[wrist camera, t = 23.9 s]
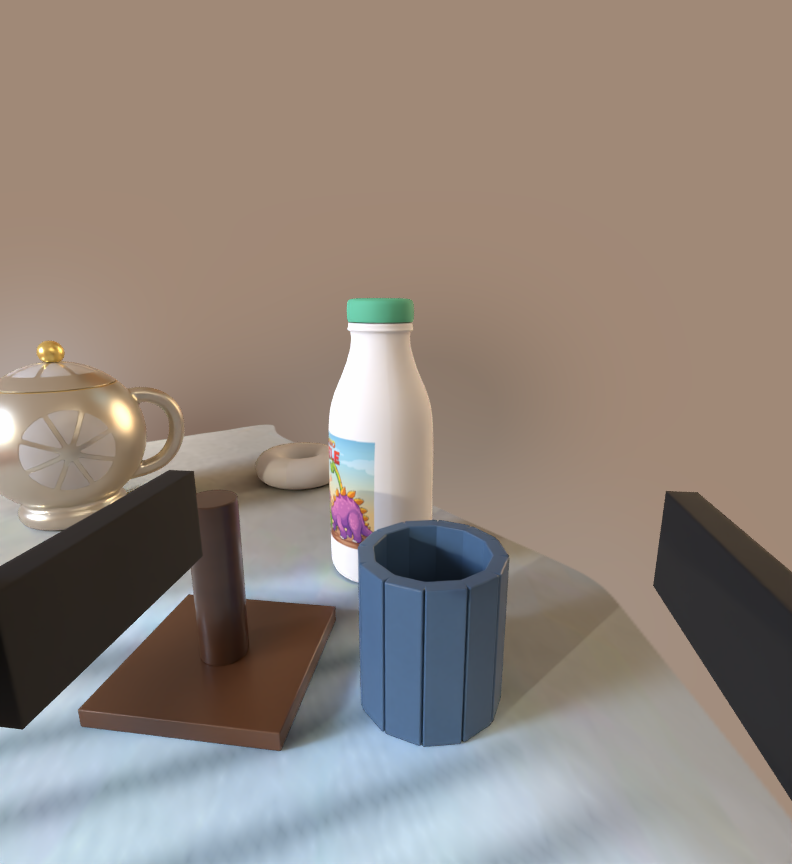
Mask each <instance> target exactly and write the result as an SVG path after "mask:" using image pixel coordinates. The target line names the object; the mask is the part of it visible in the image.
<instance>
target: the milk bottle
mask: <svg viewBox="0 0 792 864" xmlns="http://www.w3.org/2000/svg"><path fill="white" fill-rule="evenodd" d="M347 319H348V322H349V323H348V329H347V330H349V331H350V333H351V346H350V351H349V355H348V359H347V362H346V366H345V368H344V371H343V374H342V376H341V378H340V381H339V383H338V385H337V388H336V391H335V393H334V396H333V400H332V403H331V409H330V417H329V485H330V518H331V547H332V560H333V563H334V565H335V567H336V569H337V570H338V571H339V573H340V574H341V575H343V576H344V577H346V578H348V579H350V580H352V581H355V582H358V546H359V544H360V543H361V542H362V541H364V540H365V539H366V538H367V537H368V536H369V535H370V534H371V533H373V532H374V531H377V529H381V528H384V527H387V526H390V525H394V524H397V523H400V522H404V523H405V521H420V520H432V493H433V421H432V411H431V406H430V401H429V398H428V394H427V392H426V389H425V386H424V384H423V382H422V380H421V377H420V375H419V373H418V371H417V367H416V365H415V361H414V358H413V354H412V350H411V345H410V333H411V331H413V327H412V322H413V319H414V304H413V301H412V300H410V299H401V298H396V299H395V298H356V299H350V300H349V301H348V303H347Z"/></svg>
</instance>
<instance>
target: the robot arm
mask: <svg viewBox="0 0 792 864" xmlns="http://www.w3.org/2000/svg"><path fill="white" fill-rule="evenodd" d="M202 556H203V553H202V544H201V534H200V525H199V516H198V507H197V498H196V489H195V479H194V471H177V470H169V471H167V472H165V473H164V474H162V475H160V476H158V477H156V478H155V479H153V480H151V481H149V482H148V483H146V484H144V485H142V486H141V487H139V488H137V489H135V490H134V491H132V492H130V493H128V494H127V495H125V496H123V497H121V498H120V499H118V500H116V501H114V502H112V503H111V504H109V505H107V506H105V507H104V508H102V509H100V510H98V511H97V512H95V513H93V514H91V515H90V516H88V517H86V518H84V519H83V520H81V521H79V522H77V523H76V524H74V525H72V526H70V527H68V528H67V529H65V530H63V531H61V532H60V533H58V534H56V535H54V536H53V537H51V538H49V539H47V540H46V541H44V542H42V543H40V544H39V545H37V546H35V547H33V548H32V549H30V550H28V551H26V552H24V553H23V554H21V555H19V556H17V557H16V558H14V559H12V560H10V561H9V562H7V563H5V564H3V565H2V566H0V727H6V728H15V729H24V728H25V727H26V726H27V725H28V724H29V723H30V722H31V721H32V720H33V719H34V718H35V717H36V716H37V715H38V714H39V713H40V712H41V711H42V710H43V709H44V708H45V707H47V706H48V705H49V704H50V703H51V702H52V701H53V700H54V699H55V698H56V697H57V696H58V695H59V694H60V693H61V692H62V691H63V690H64V689H65V688H66V687H67V686H68V685H69V684H70V683H71V682H73V681H74V680H75V679H76V678H77V677H78V676H79V675H80V674H81V673H82V672H83V671H84V670H85V669H86V668H87V667H88V666H89V665H90V664H91V663H92V662H93V661H94V660H95V659H96V658H97V657H98V656H100V655H101V654H102V653H103V652H104V651H105V650H106V649H107V648H108V647H109V646H110V645H111V644H112V643H113V642H114V641H115V640H116V639H117V638H118V637H119V636H120V635H121V634H122V633H123V632H124V631H126V630H127V629H128V628H129V627H130V626H131V625H132V624H133V623H134V622H135V621H136V620H137V619H138V618H139V617H140V616H141V615H142V614H143V613H144V612H145V611H146V610H147V609H148V608H149V607H150V606H152V605H153V604H154V603H155V602H156V601H157V600H158V599H159V598H160V597H161V596H162V595H163V594H164V593H165V592H166V591H167V590H168V589H169V588H170V587H171V586H172V585H173V584H174V583H175V582H176V581H177V580H179V579H180V578H181V577H182V576H183V575H184V574H185V573H186V572H187V571H188V570H189V569H190V568H191V567H192V566H193V565H194V564H195V563H196V562H197V561H198V560H199V559H200V558H201V557H202ZM653 586H654V587H655V589H656V591H657V592H658V594H659V595H660V597H661V598H662V600H663V602H664V603H665V605H666V606H667V608H668V609H669V611H670V612H671V614H672V615H673V617H674V619H675V620H676V622H677V623H678V625H679V626H680V628H681V630H682V631H683V632H684V634H685V635H686V637H687V639H688V640H689V642H690V643H691V645H692V646H693V648H694V650H695V651H696V653H697V654H698V656H699V657H700V659H701V660H702V662H703V664H704V665H705V667H706V668H707V670H708V671H709V673H710V675H711V676H712V677H713V679H714V681H715V682H716V684H717V685H718V687H719V689H720V690H721V692H722V693H723V695H724V696H725V698H726V699H727V701H728V702H729V704H730V706H731V707H732V709H733V710H734V712H735V713H736V715H737V716H738V718H739V720H740V721H741V723H742V724H743V726H744V727H745V729H746V730H747V732H748V734H749V735H750V737H751V738H752V740H753V741H754V743H755V744H756V746H757V747H758V749H759V750H760V752H761V754H762V755H763V757H764V758H765V760H766V761H767V763H768V765H769V766H770V768H771V769H772V771H773V772H774V774H775V775H776V777H777V779H778V780H779V782H780V783H781V785H782V786H783V788H784V789H785V791H786V793H787V794H788V796H789V797H790V799H791V800H792V572H791V571H790V570H789V569H788V568H786V567H785V566H784V565H783V564H782V563H780V562H779V561H778V560H777V559H776V558H774V557H773V556H772V555H771V554H770V553H769V552H767V551H766V550H765V549H764V548H763V547H761V546H760V545H759V544H758V543H757V542H756V541H754V540H753V539H752V538H751V537H750V536H748V535H747V534H746V533H745V532H744V531H742V530H741V529H740V528H739V527H738V526H737V525H735V524H734V523H733V522H732V521H731V520H730V519H728V518H727V517H726V516H725V515H723V514H722V513H721V512H720V511H719V510H718V509H716V508H715V507H714V506H713V505H712V504H711V503H709V502H708V501H707V500H706V499H704V498H703V497H702V496H701V495H700V494H699V493H698V492H673V491H666V495H665V503H664V510H663V518H662V525H661V533H660V540H659V547H658V555H657V562H656V570H655V577H654V585H653Z"/></svg>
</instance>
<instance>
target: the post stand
mask: <svg viewBox="0 0 792 864" xmlns="http://www.w3.org/2000/svg"><path fill="white" fill-rule="evenodd" d="M196 498H197V507H198V516H199V525H200V534H201V544H202V553H203V556H202V557H201V558H200V559H199V560H198V561H197V562H196V563H195V564H194V565H193V566H192V567H191V575H192V584H193V593H194V595H188V596H187V597H186V598H185V599H184V600H183V601H182V602H181V603H180V604H179V605H178V606H177V607H176V608H175V609H174V610H173V611H172V612H171V613H170V614H169V615H168V616H167V617H166V618H165V620H164V621H163V622H162V623H161V624H160V625H159V626H158V627H157V628H156V629H155V630H154V631H153V632H152V633H151V634H150V635H149V636H148V637H147V638H146V639H145V640H144V641H143V642H142V644H141V645H140V646H139V647H138V648H137V649H136V650H135V651H134V652H133V653H132V654H131V655H130V656H129V657H128V658H127V659H126V660H125V661H124V662H123V663H122V664H121V665H120V666H119V668H118V669H117V670H116V671H115V672H114V673H113V674H112V675H111V676H110V677H109V678H108V679H107V680H106V681H105V682H104V683H103V684H102V685H101V686H100V687H99V688H98V689H97V690H96V692H95V693H94V694H93V695H92V696H91V697H90V698H89V699H88V700H87V701H86V702H85V703H84V704H83V705H82V706H81V707H80V708H79V709H78V713H79V718H80V724H81V726H82V727H89V728H97V729H105V730H113V731H122V732H130V733H138V734H146V735H154V736H162V737H170V738H179V739H187V740H195V741H203V742H211V743H219V744H227V745H236V746H244V747H252V748H260V749H268V750H276V751H281V749H282V747H283V744H284V742H285V740H286V737H287V735H288V733H289V730H290V728H291V725H292V723H293V721H294V718H295V716H296V713H297V711H298V709H299V706H300V704H301V702H302V699H303V697H304V694H305V692H306V690H307V687H308V685H309V682H310V680H311V678H312V675H313V673H314V671H315V668H316V666H317V663H318V661H319V659H320V656H321V654H322V651H323V649H324V647H325V644H326V642H327V640H328V637H329V635H330V632H331V630H332V628H333V625H334V623H335V620H336V611H335V607H333V606H321V605H309V604H297V603H285V602H273V601H261V600H249V599H246V595H245V583H244V570H243V558H242V545H241V533H240V520H239V508H238V496H237V494H236V493H234V492H231V491H227V490H211V491H204V492H200V493H197V494H196Z"/></svg>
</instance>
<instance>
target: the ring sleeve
mask: <svg viewBox="0 0 792 864" xmlns="http://www.w3.org/2000/svg"><path fill="white" fill-rule="evenodd" d="M508 571H509V555H508V554H507V552H506V551H505V549H504V548H503V546H502V545H501V543H500V542H499V540H497V539H496V538H495V537H493V536H491V535H489V534H487V533H485V532H483V531H481V530H479V529H477V528H475V527H470V525H465V524H459V523H454V522H448V521H442V520H439V521H438V522H437V520H420V521H405V523H404V522H400V523H397V524H394V525H390V526H387V527H384V528H381V529H377V531H374V532H373V533H371V534H370V535H369V536H368V537H367V538H366V539H365V540H364V541H362V542H361V543H360V544H359V546H358V588H359V643H360V687H361V705H362V706H363V709H364V710H365V712H366V713H367V714H368V715H369V716H370V717H371V719H372V720H373V721H374V722H375V723H376V724H377V726H378V727H379V728H380V729H381V730H382V731H385V730H386V734H389V735H391V736H394V737H397V738H400V739H402V740H405V741H408V742H410V743H413V744H416V745H421V743H423V746H424V747H426V746H438V745H449V744H460V743H461V740H462V741H464V742H465V741H467V740H468V739H470V738H471V737H473V736H474V735H476V734H477V733H478V732H480V731H481V730H483V729H484V728H486V727H487V726H489V725H490V724H491V722H492V721H493V719H494V716H495V713H496V710H497V707H498V704H499V701H500V698H501V684H502V667H503V651H504V635H505V619H506V603H507V587H508Z"/></svg>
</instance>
